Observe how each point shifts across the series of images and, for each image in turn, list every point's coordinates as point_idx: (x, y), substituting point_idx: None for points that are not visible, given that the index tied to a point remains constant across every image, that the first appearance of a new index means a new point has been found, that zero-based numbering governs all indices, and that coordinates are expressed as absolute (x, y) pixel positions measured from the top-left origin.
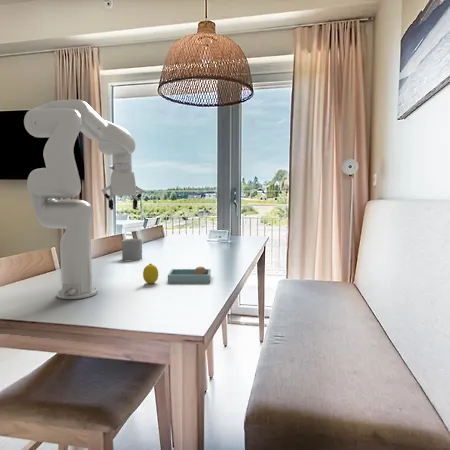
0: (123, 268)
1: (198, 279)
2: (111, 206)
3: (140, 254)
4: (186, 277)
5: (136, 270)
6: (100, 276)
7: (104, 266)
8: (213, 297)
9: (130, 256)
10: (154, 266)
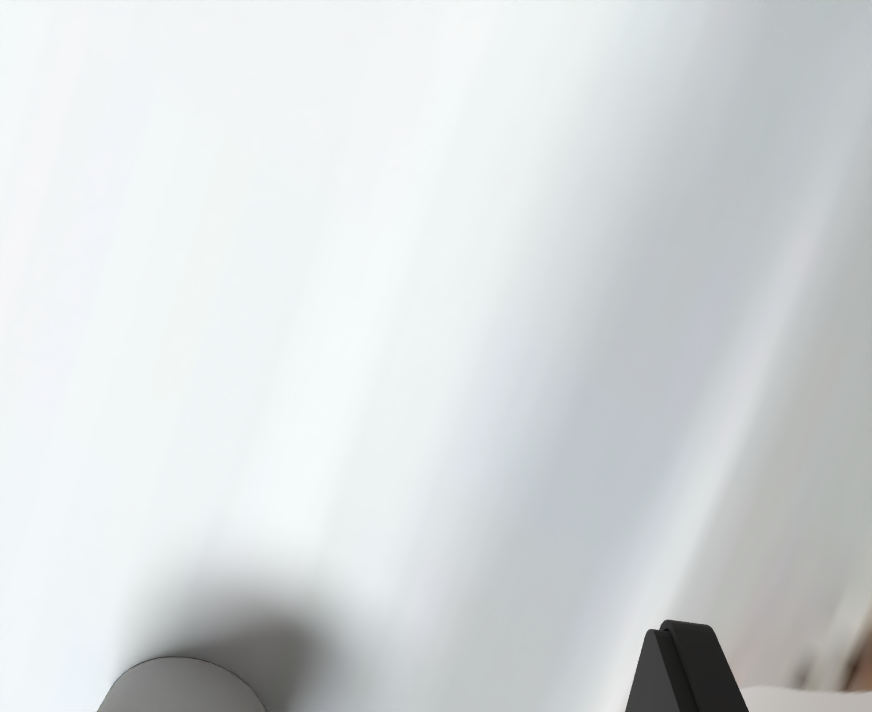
0: (377, 402)
1: None
2: (739, 694)
3: (110, 703)
4: None
5: (303, 252)
6: (666, 187)
7: (488, 568)
8: None
9: (209, 697)
10: None
